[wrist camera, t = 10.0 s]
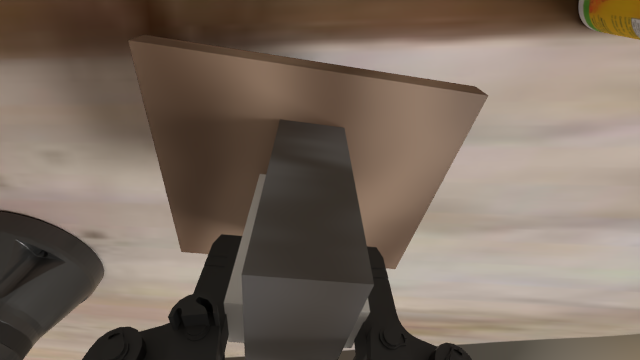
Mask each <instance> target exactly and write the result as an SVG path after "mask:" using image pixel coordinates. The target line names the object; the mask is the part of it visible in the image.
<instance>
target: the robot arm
mask: <svg viewBox="0 0 640 360" xmlns="http://www.w3.org/2000/svg"><path fill="white" fill-rule="evenodd" d="M265 178H266V175H265V174H260V175H259V179H258V182H257V186H256V189H255V193H254V196H253V200H252V204H251V207H250V211H249V214H248V218H247V221H246V225H245V229H244V232H243V236H236V235H225V234H221V235H220V236H219V237H218V238H217V239H216V241H215V242H214V243H213V244H212V246H211V249H210V252H209V254H208V257H207V259H206V262H205V265H204V267H203V270H202V272H201V275H200V278H199V280H198V283H197V286H196V288H195V291H194V293H193V294H192V295H188V296H186V297H185V298H183V299H181V300H180V301H179V302H178V303H177V304H176V305H175V306H174V307H173V308H172V310H171V312H170V314H169V316H168V318H169V321H170V323H168V324H165V325H163V326H159V327H155V328H152V329H148V330H144V331H140V332H138V330H136V329H134V328H131V327H119V328H117V329H114V330H111V331H109V332H107V333H106V334H105V335H103V336H102V337H100V338H99V339H98V340H97V341H96V342H95V343H94V344H93V345H92V347H91V348H90V349H89V351H88V352H87V353H86V355H85V356H84V358H83V359H82V360H225V353H224V352H225V348H226V344H227V340H228V341H229V342H241V343H244V322H243V299H242V276H241V275H242V271H243V266H244V262H245V258H246V254H247V250H248V246H249V242H250V238H251V234H252V230H253V226H254V222H255V218H256V214H257V210H258V206H259V202H260V198H261V194H262V190H263V186H264V182H265ZM367 250H368V255H369V260H370V265H371V271H372V276H373V281H374V286H373V288H372V290H371V292H370V294H369V296H368V298H367V300H366V302H365V305H364V307H363V309H362V311H361V313H360V315H359V317H358V319H357V321H356V323H355V325H354V327H353V329H352V331H351V333H350V335H349V337H348V340H347V342H346V344H345V346H344V348H351V347H352V345H353V344H354V343H355V352H356V355H355V357H354V359H353V360H472V359H471V358H470V356H469V355H468V354H467V353H466V352H465V351H464V350H463V349H462V348H460V347H458V346H456V345H455V344H451V343H444V344H441V345H439V346H438V347H436V346H434V345H432V344H429V343H427V342H425V341H422V340H420V339H418V338H416V337H414V336H412V335H411V334H410V333H408V332H407V331H406V330H405V329H404V327H403V326H402V325H401V323H400V321H399V319H398V316H397V313H396V309H395V305H394V300H393V296H392V292H391V288H390V284H389V280H388V275H387V271H386V267H385V263H384V259H383V256H382V255H381V253H380V252H379V250H378V249H377V248H376V247H369V246H367ZM103 276H104V268H103V265H102V263H101V261H100V259H99V258H98V257H97V255H96V254H95V253H94V252H93V251H92V250H91V249H90V248H89V247H88V246H86V245H85V244H84V243H83V242H81V241H80V240H78V239H77V238H75V237H74V236H72V235H70V234H68V233H67V232H65V231H63V230H61V229H59V228H57V227H54V226H52V225H50V224H47V223H45V222H42V221H39V220H36V219H33V218H30V217H26V216H22V215H18V214H13V213H7V212H0V360H23V359H24V357H25V356H26V355H27V353H28V352H29V351H30V349H31V348H32V347H33V345H34V344H35V343H36V342H37V341H38V340H39V338H40V337H42V336H43V335H44V334H45V333H46V332H48V331H49V330H50V329H51V328H52V327H54V326H55V325H56V324H57V323H58V322H60V321H61V320H62V319H63V318H64V317H65V316H66V315H68V314H69V313H70V312H71V311H72V310H73V309H74V308H75V307H77V306H78V305H79V304H80V303H82V302H83V301H85V300H86V299H87V298H88V297H89V296H90V295H91V294H92V293H93V292H94V290H95V289H96V287H97V286H98V284H99V283H100V282H101V280H102V278H103Z"/></svg>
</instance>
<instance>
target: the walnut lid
mask: <svg viewBox="0 0 640 360" xmlns="http://www.w3.org/2000/svg"><path fill="white" fill-rule="evenodd" d="M128 42H129V46H130V50H131V54H132V58H133V62H134V66H135V70H136V74H137V78H138V82H139V86H140V90H141V94H142V98H143V102H144V106H145V110H146V114H147V118H148V122H149V126H150V129H151V133H152V137H153V141H154V145H155V149H156V153H157V157H158V161H159V165H160V169H161V173H162V177H163V181H164V185H165V189H166V193H167V197H168V201H169V205H170V209H171V213H172V217H173V221H174V224H175V228H176V232H177V236H178V240H179V244H180V248H181V252H190V253H203V254H209V252H210V249H211V246H212V244H213V243H214V242H215V241H216V239H217V238H218V237H219V236H220V235H221V234H225V235H236V236H243V232H244V229H245V225H246V221H247V218H248V214H249V211H250V207H251V204H252V200H253V196H254V193H255V189H256V186H257V182H258V179H259V175H260V174H265V175H266V178H265V182H264V186H263V190H262V194H261V198H260V202H259V206H258V210H257V214H256V218H255V222H254V226H253V230H252V234H251V238H250V242H249V246H248V250H247V254H246V258H245V262H244V266H243V271H242V275H241V276H242V299H243V322H244V344H245V360H338V358H339V356H340V354H341V352H342V350H343V348H344V346H345V344H346V342H347V340H348V337H349V335H350V333H351V331H352V329H353V327H354V325H355V323H356V321H357V319H358V317H359V315H360V313H361V311H362V309H363V307H364V305H365V302H366V300H367V298H368V296H369V294H370V292H371V290H372V288H373V286H374V281H373V276H372V271H371V265H370V260H369V255H368V250H367V246H369V247H376V248H377V249H378V250H379V252H380V253H381V255H382V256H383V259H384V263H385V267H386V268H389V269H396V267H397V265H398V263H399V261H400V259H401V257H402V256H403V254H404V252H405V250H406V248H407V246H408V244H409V243H410V241H411V239H412V237H413V235H414V233H415V231H416V229H417V228H418V226H419V224H420V222H421V220H422V218H423V216H424V215H425V213H426V211H427V209H428V207H429V205H430V203H431V201H432V200H433V198H434V196H435V194H436V192H437V190H438V188H439V187H440V185H441V183H442V181H443V179H444V177H445V175H446V174H447V172H448V170H449V168H450V166H451V164H452V162H453V160H454V159H455V157H456V155H457V153H458V151H459V149H460V147H461V146H462V144H463V142H464V140H465V138H466V136H467V134H468V132H469V131H470V129H471V127H472V125H473V123H474V121H475V119H476V118H477V116H478V114H479V112H480V110H481V108H482V106H483V105H484V103H485V101H486V99H487V97H488V95H487V94H485V93H484V92H482V91H481V90H479V89H478V88H477V87H475V86H468V85H462V84H456V83H449V82H443V81H436V80H430V79H424V78H417V77H411V76H405V75H398V74H392V73H385V72H379V71H373V70H366V69H360V68H353V67H347V66H341V65H334V64H328V63H322V62H315V61H309V60H302V59H296V58H290V57H283V56H277V55H270V54H264V53H258V52H251V51H245V50H239V49H232V48H226V47H219V46H213V45H207V44H200V43H194V42H188V41H181V40H175V39H168V38H162V37H156V36H149V35H142V36H139V37H136V38H133V39H130V40H128Z"/></svg>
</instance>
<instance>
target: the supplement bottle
mask: <svg viewBox="0 0 640 360" xmlns="http://www.w3.org/2000/svg"><path fill="white" fill-rule="evenodd" d="M578 10H579V15H580V18H581V20H582V22H583V23H584V24H585V25H586V26H587V27H588V28H590V29H592V30H595V31H599V32H604V33H609V34H613V35H618V36H624V37H629V38H634V39H639V40H640V0H579V6H578Z"/></svg>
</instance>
